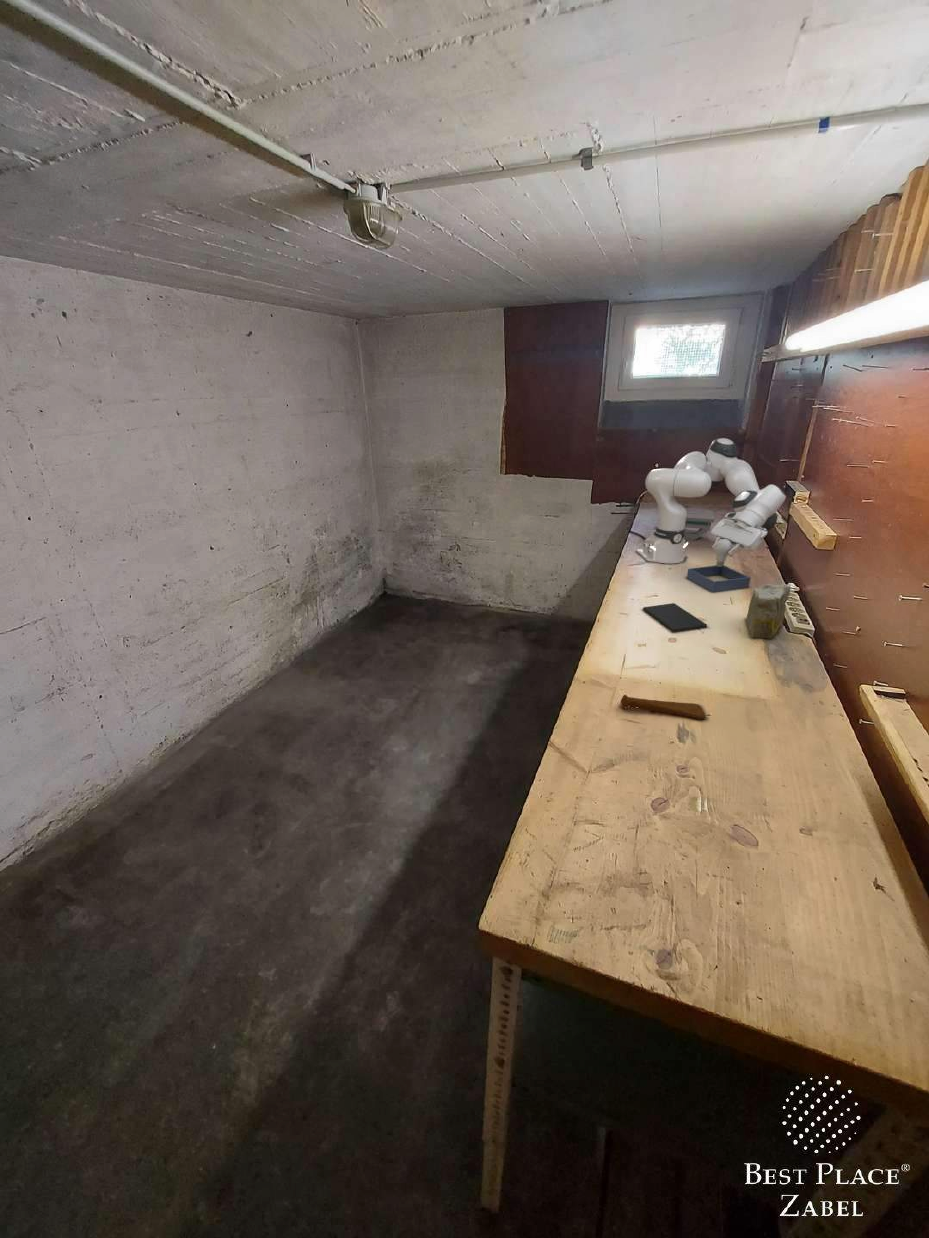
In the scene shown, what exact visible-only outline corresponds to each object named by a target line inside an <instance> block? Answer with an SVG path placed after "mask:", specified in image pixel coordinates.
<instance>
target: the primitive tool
mask: <svg viewBox="0 0 929 1238" xmlns="http://www.w3.org/2000/svg"><path fill="white" fill-rule="evenodd" d="M621 705H622V706H623V707H622V706H621ZM620 706H621V708H622V709H627V708H633V709H641V710H646V711H650V712H660V713H666V714H667V713H668V714H672V715H677V716H684V717H688V718H695V719H697V720H704V719H705V718H706V714H705V712H704V710H703V708H702V706H701V705H700V704H698V703H693V702H691V703H690V702H675V701H666V700H665V701H664V700H656V699H648V698H647V699H646V698H638V697H633V696H632V697H631V696H628V695H627V694H623V696H622V697H621V698H620ZM628 706H630V707H628ZM625 707H626V708H625ZM636 707H638V708H636Z"/></svg>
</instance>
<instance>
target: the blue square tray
mask: <svg viewBox="0 0 929 1238" xmlns="http://www.w3.org/2000/svg"><path fill="white" fill-rule="evenodd" d="M719 575H720V576H722V577H724V578H726V579H723V580H722V579H721V580H712V579H711V578H709V577H712V576H719ZM686 579H687V580H689V581H691V582H692V583H694V584H696V585H698V586H700V587H702V588H703V589H705V590H707V591H709V592H711V593H718V592H725V591H732V590H739V589H747V588H749V586H750V582H751V577H750V576H748V575H746V574H744V573H742V572H740V571H737V570H736V569H733V568H731V567H729V566H726V565H725V564H724V565H723V566H721V567H718V566H717V565H709V566H701V567H699V566H698V567H692V568H687V574H686Z"/></svg>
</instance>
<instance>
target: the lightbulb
mask: <svg viewBox="0 0 929 1238" xmlns="http://www.w3.org/2000/svg"><path fill="white" fill-rule="evenodd" d="M714 544H715V543H714ZM732 548H734V545H733V544H732V543H731V542H730V541H729V540H727V539H721V540H719V541H717V542H716V544H715V546H714V549H713V550H714V552H715V556H716V558H715V559H716V565H717V566H718V567H721V566H723V565H724V566H725V562H726V560H727V557H728V556H729V555H728V554H727V553H726V552H727V551H728V550H729V549H732Z"/></svg>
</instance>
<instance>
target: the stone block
mask: <svg viewBox="0 0 929 1238" xmlns="http://www.w3.org/2000/svg"><path fill="white" fill-rule="evenodd" d="M790 593H791V586H789V585H785V584H783V585H781V584H772V583H771V584H769V583H765V584H764V585H761V586H759V587H757V588H755V589H753V592H752V595H751V598H750V601H749V605H748V610H747V614H746V622H747V625H748V630H749V634H750V637H751V638H752V639H754V638H760V639H761V638H763V639H771V638H773V637H774V636H775V635H776V634H777V633H778V630H779V629H780V627H782V626H783V622H784V620H785V616H786V615H785V613H786V610H787V609H786V606H787V601H788V599H789V597H790V596H789V595H790Z"/></svg>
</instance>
